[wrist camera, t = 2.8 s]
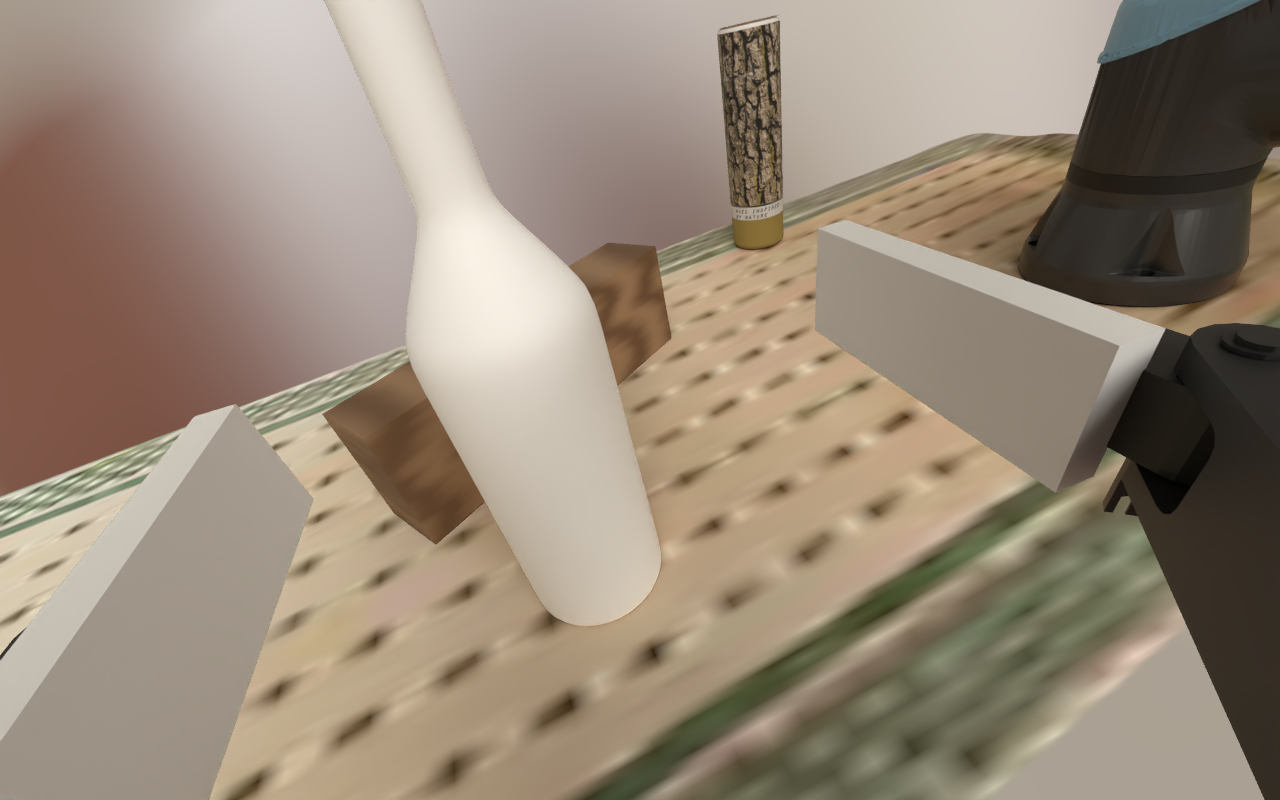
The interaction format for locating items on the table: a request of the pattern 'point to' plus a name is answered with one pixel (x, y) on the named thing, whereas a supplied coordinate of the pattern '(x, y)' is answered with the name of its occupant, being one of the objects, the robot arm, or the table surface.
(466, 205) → the bottle
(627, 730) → the table surface
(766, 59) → the paper tube
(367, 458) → the wooden block
